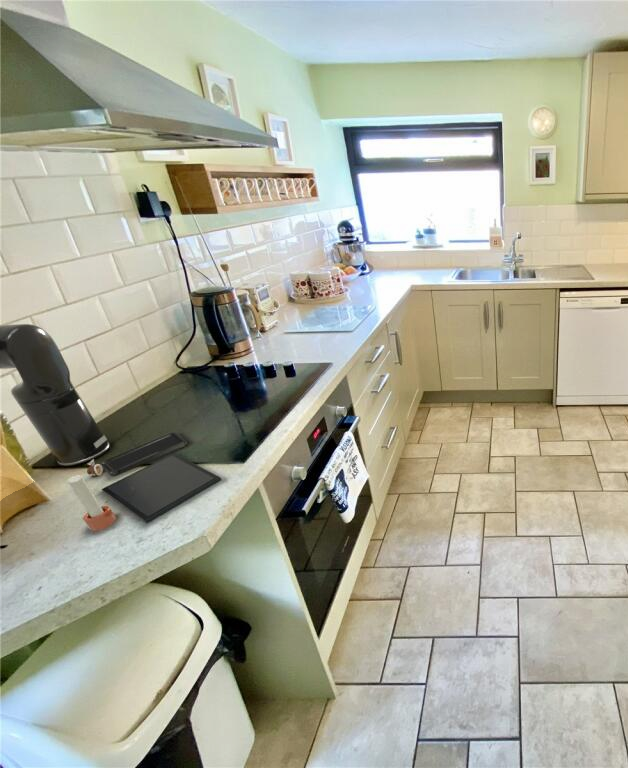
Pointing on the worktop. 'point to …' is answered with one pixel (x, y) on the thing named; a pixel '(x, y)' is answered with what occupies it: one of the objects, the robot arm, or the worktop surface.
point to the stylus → (85, 496)
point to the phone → (143, 454)
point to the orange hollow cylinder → (100, 519)
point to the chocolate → (95, 469)
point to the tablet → (160, 487)
